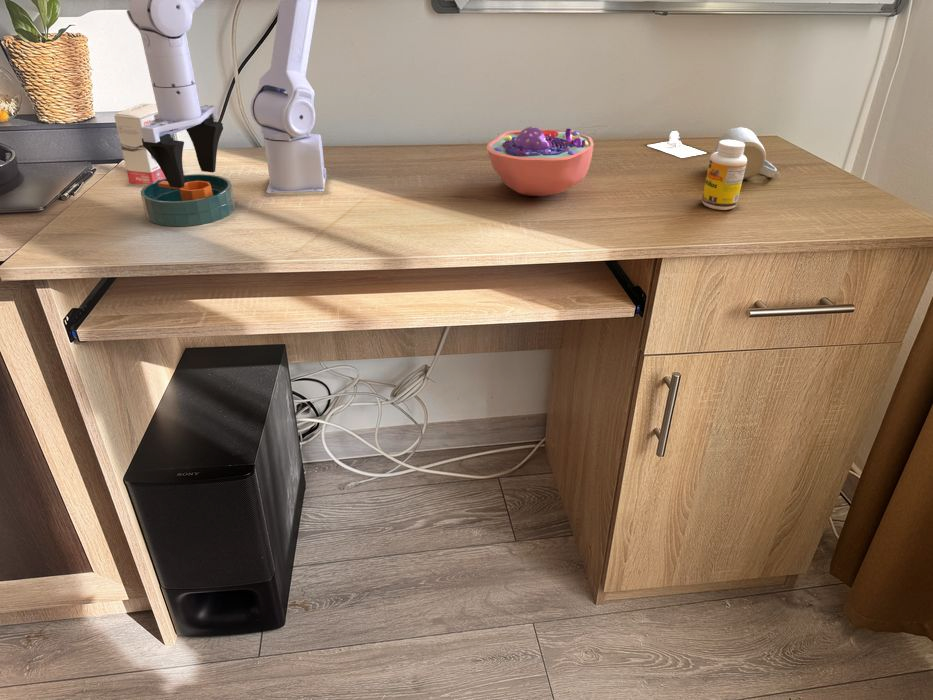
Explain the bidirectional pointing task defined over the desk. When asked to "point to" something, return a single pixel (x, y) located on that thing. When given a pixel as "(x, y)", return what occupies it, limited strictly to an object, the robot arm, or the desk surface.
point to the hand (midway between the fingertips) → (193, 178)
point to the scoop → (192, 190)
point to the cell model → (541, 160)
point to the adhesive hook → (676, 147)
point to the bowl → (188, 203)
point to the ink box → (137, 144)
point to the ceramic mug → (750, 152)
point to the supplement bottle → (725, 175)
